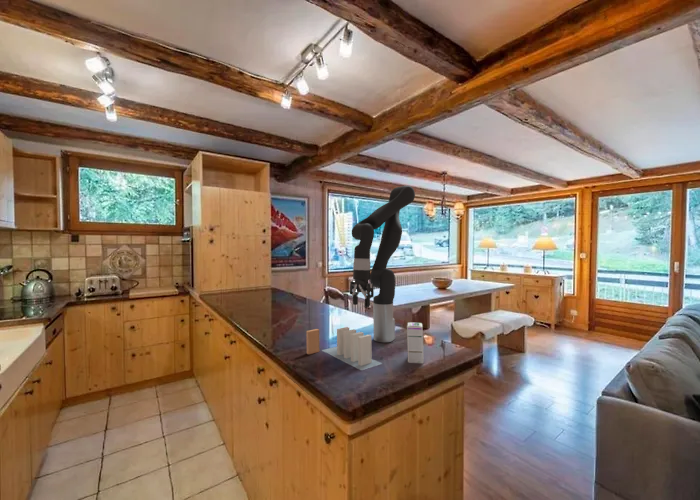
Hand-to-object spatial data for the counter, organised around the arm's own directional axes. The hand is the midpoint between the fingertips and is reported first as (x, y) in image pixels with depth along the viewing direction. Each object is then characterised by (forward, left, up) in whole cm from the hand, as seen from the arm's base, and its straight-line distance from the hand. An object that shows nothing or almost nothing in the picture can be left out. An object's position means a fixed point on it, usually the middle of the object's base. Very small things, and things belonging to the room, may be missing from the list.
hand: (360, 305), depth 133 cm
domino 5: (+13, +19, -17) cm, 28 cm away
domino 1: (+22, -3, -18) cm, 29 cm away
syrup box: (-4, +28, -18) cm, 33 cm away
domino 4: (+13, +14, -17) cm, 26 cm away
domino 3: (+13, +10, -17) cm, 23 cm away
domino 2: (+13, +5, -17) cm, 22 cm away
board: (+13, +10, -18) cm, 24 cm away
